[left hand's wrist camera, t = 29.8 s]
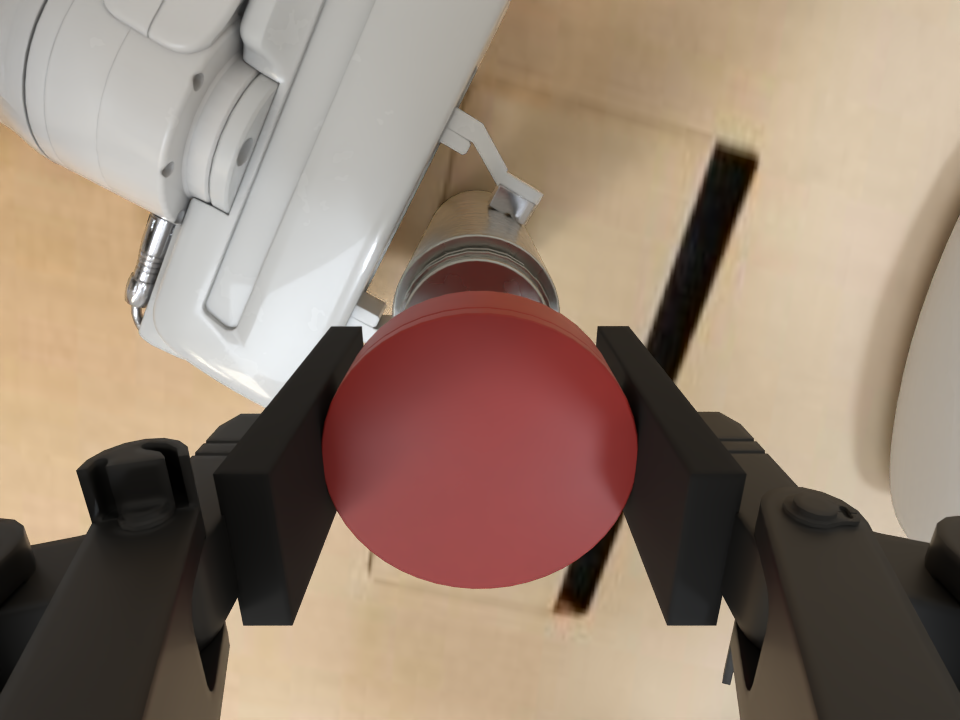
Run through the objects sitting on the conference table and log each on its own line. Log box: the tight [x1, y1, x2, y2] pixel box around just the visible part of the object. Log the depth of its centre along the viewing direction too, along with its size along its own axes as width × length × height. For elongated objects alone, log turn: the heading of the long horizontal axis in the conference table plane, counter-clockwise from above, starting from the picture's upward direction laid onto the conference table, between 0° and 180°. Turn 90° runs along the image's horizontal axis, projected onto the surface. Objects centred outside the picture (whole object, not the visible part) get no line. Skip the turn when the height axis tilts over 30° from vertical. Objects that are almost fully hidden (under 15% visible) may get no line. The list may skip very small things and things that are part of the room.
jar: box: [392, 190, 560, 318], centre depth 23 cm, size 5×5×15 cm
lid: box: [321, 291, 638, 589], centre depth 11 cm, size 6×6×2 cm
